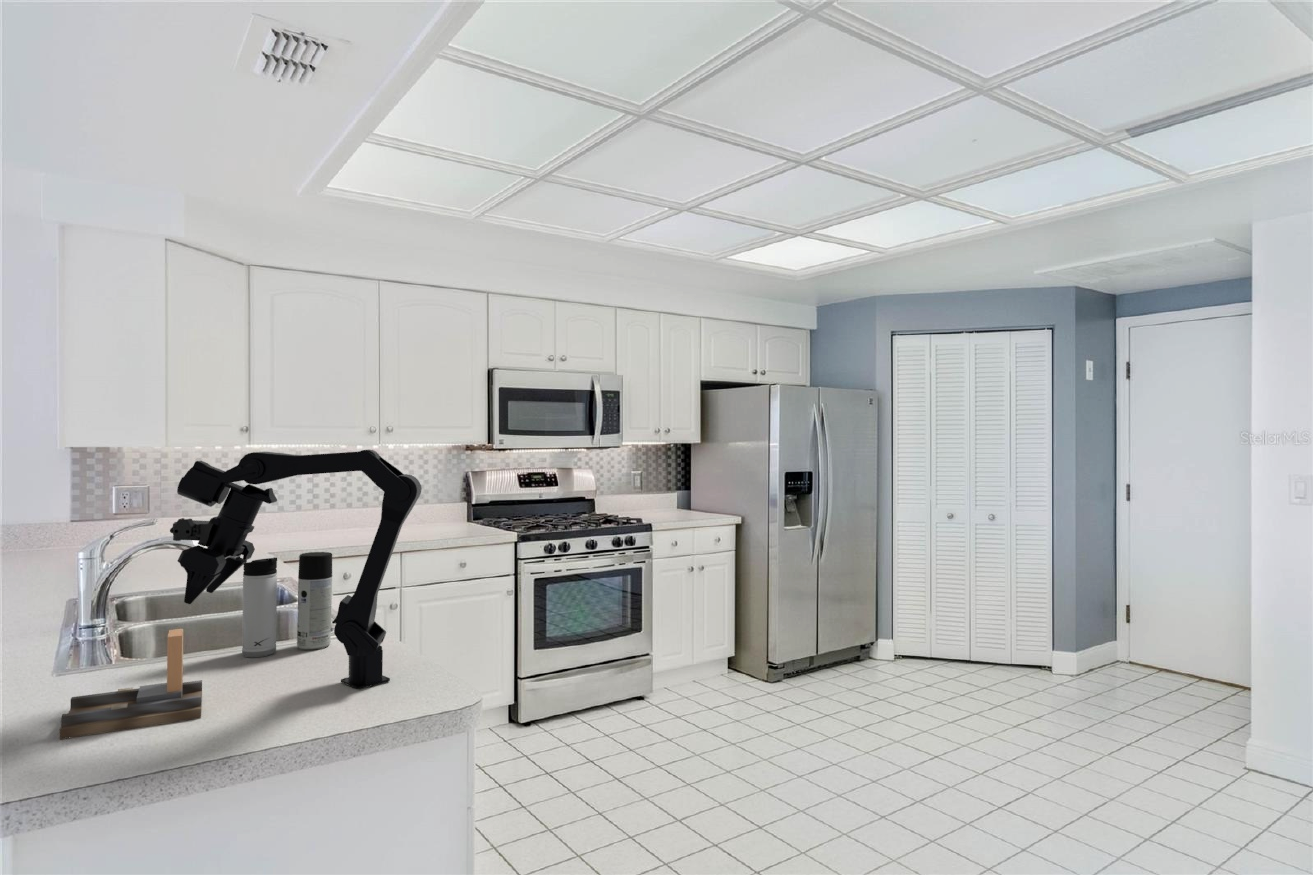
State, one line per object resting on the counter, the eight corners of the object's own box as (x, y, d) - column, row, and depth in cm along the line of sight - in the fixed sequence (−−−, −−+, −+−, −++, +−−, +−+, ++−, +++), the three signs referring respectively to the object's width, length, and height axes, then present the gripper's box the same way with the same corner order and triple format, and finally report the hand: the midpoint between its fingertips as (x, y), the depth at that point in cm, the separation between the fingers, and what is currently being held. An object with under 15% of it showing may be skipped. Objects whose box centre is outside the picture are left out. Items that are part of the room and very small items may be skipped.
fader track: (202, 695, 131) (202, 676, 131) (200, 717, 121) (201, 697, 121) (72, 713, 122) (73, 693, 122) (59, 739, 112) (59, 717, 112)
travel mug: (263, 659, 153) (264, 560, 153) (234, 656, 154) (236, 559, 154) (284, 650, 159) (285, 555, 159) (256, 648, 160) (258, 554, 160)
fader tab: (182, 692, 128) (183, 627, 128) (181, 704, 122) (181, 636, 122) (139, 698, 125) (140, 631, 125) (136, 710, 119) (137, 641, 119)
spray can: (303, 642, 165) (305, 551, 165) (335, 641, 166) (336, 551, 166) (291, 650, 159) (293, 556, 159) (325, 650, 159) (326, 556, 159)
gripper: (212, 495, 143) (176, 571, 142) (167, 504, 125) (125, 591, 124) (270, 518, 145) (235, 593, 144) (234, 530, 127) (193, 616, 126)
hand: (198, 597), depth 134 cm, fingers open, 9 cm apart
